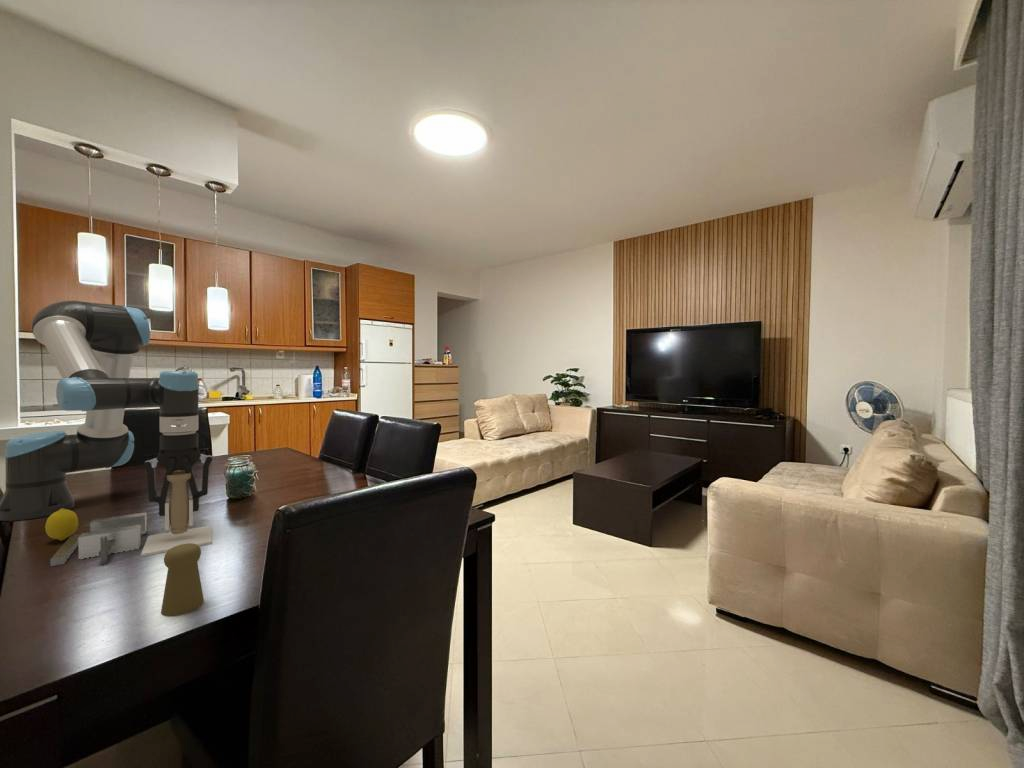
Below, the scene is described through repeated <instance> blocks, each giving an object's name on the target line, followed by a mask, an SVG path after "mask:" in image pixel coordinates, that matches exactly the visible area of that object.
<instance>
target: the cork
mask: <svg viewBox="0 0 1024 768" xmlns="http://www.w3.org/2000/svg"><path fill="white" fill-rule="evenodd" d="M201 549H202V548H201V546H198V545H197V544H193V543H188V544H181V545H178V546H175V547H173V548H171V549H169V550H168V551H167V552H165V554H164V557H163V564H164V566H165V567H167V573H166V577H165V578H166V579H165V585H164V591H163V598H162V605H161V609H160V610H161V611H160V614H161V615H162V616H163V617H170V616H171V617H178V616H182V614H183V615H185V613H186V614H188V612H189V613H191V612H193V611H196V610H198V609H199V608H200V607H201V606H202V605H203V604H204V602H205V599H204V593H203V586H202V582H201V577H200V570H199V564H198V562H199V560H200V558H201V556H202V555H201V554H202V550H201ZM199 606H200V607H199ZM198 607H199V608H198Z"/></svg>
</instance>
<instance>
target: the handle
mask: <svg viewBox="0 0 1024 768" xmlns="http://www.w3.org/2000/svg"><path fill="white" fill-rule="evenodd" d="M190 478H191V473H186V471H185V470H177V471H173V473H172V475H167V480H168V481H170V498H169V500H170V508H169V513H170V514H169V516H170V532H171V533H172V534H175V535H176V534H182V533H184V532H186V531H187V530H188V529H189V498H190V497H189V482H188V479H190Z"/></svg>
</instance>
